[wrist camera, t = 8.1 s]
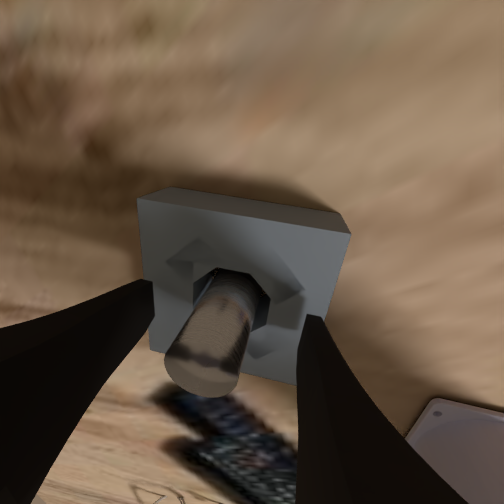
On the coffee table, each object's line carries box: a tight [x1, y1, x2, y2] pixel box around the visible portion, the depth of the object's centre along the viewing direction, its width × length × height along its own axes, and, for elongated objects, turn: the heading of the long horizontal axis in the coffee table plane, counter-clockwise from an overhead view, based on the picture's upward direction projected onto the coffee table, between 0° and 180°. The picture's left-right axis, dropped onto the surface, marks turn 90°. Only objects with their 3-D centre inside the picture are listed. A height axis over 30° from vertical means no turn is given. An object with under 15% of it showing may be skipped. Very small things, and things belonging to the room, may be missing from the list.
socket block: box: [137, 187, 351, 386], centre depth 13 cm, size 9×9×3 cm
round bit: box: [164, 268, 262, 397], centre depth 11 cm, size 3×3×7 cm
